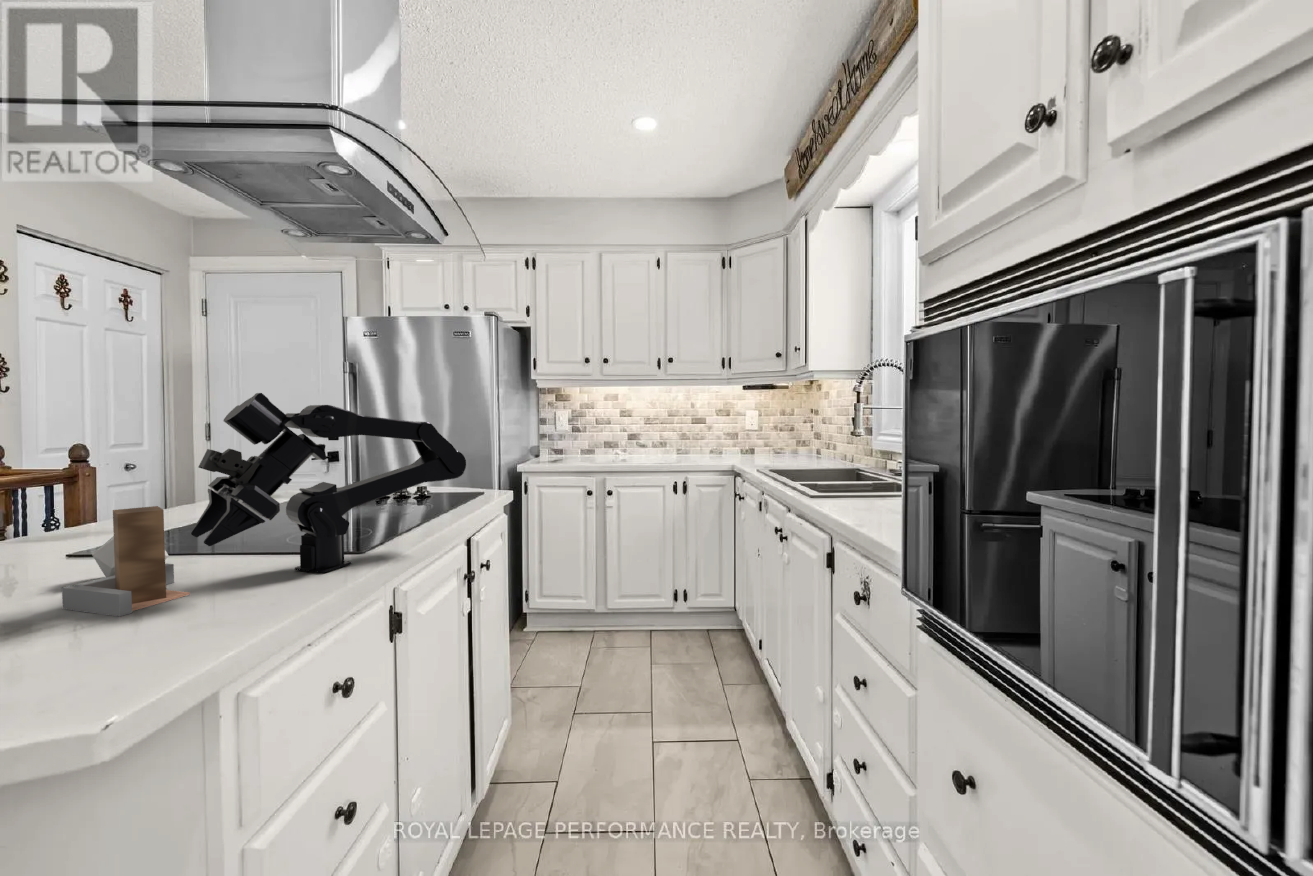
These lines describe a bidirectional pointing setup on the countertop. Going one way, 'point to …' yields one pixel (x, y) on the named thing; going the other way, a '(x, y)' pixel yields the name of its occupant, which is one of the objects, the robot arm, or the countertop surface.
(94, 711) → the countertop surface
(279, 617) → the countertop surface
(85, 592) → the corner bracket
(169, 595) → the pad
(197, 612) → the countertop surface
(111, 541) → the die
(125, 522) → the walnut block
